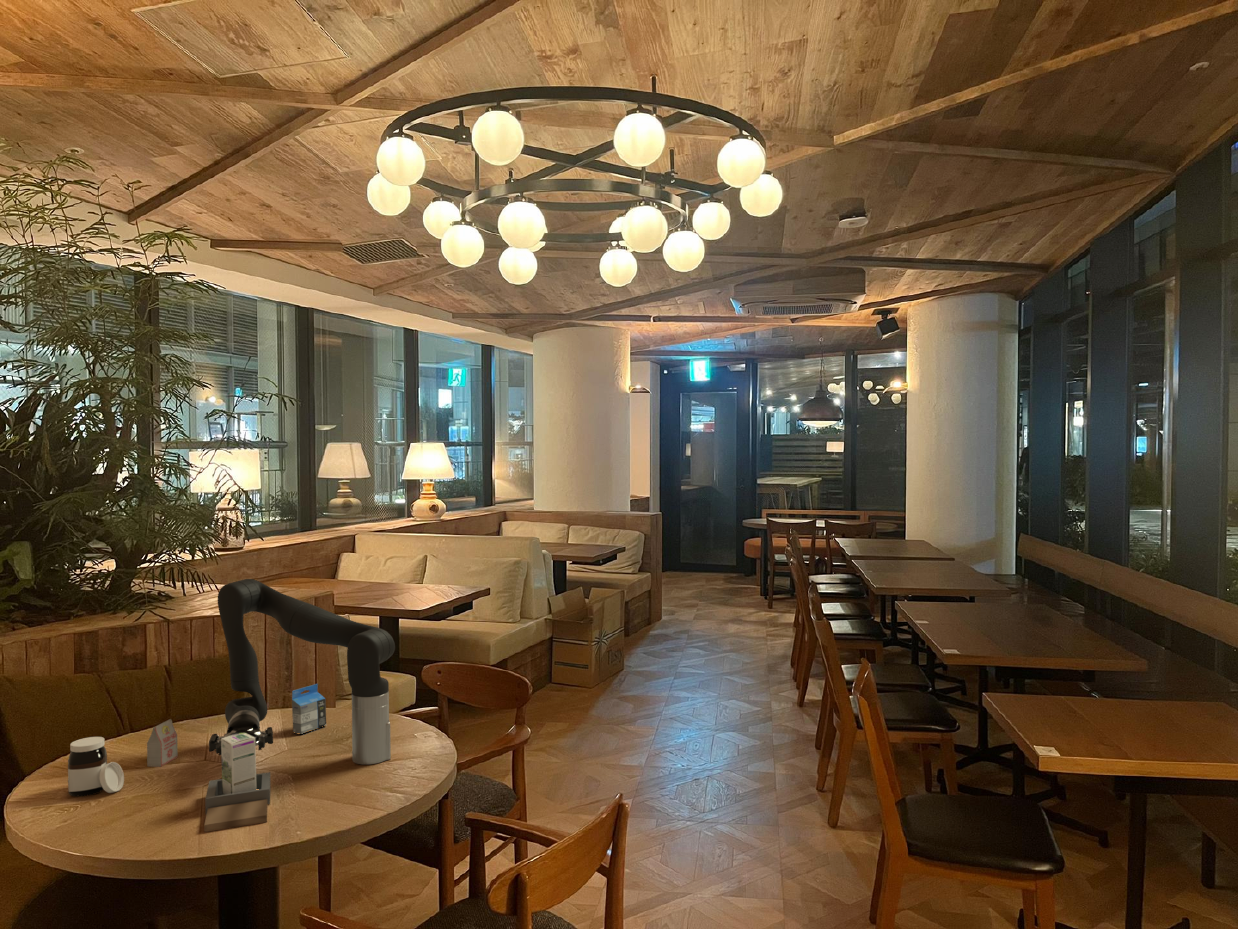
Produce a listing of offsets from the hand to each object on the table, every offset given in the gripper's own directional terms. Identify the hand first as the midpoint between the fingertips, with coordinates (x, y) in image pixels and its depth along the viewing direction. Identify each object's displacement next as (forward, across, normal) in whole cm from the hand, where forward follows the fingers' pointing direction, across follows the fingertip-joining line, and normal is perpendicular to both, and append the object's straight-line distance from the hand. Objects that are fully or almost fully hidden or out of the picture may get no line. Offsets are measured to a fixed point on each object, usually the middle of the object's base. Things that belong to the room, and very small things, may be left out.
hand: (240, 748), depth 195 cm
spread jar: (-11, -32, +9) cm, 35 cm away
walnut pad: (+19, 0, +9) cm, 21 cm away
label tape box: (-37, +16, +9) cm, 42 cm away
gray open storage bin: (+9, 0, +9) cm, 13 cm away
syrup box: (+9, 0, +9) cm, 13 cm away
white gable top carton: (-26, -20, +9) cm, 34 cm away
